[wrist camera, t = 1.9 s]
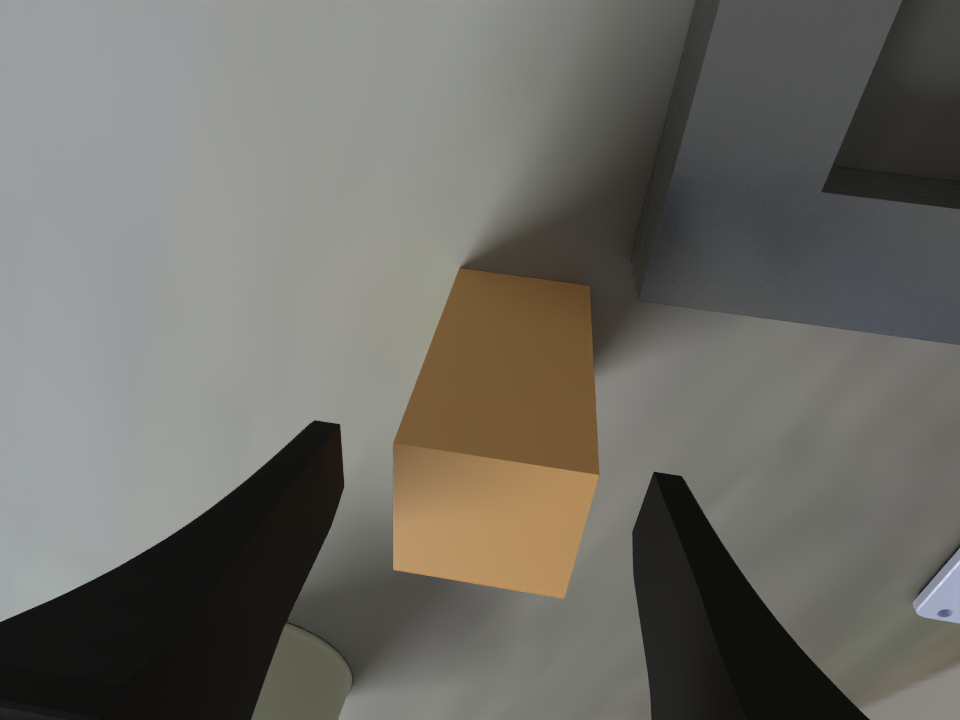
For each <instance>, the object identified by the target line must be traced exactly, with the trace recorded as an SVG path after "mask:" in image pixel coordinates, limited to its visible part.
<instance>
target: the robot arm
mask: <svg viewBox="0 0 960 720" xmlns="http://www.w3.org/2000/svg"><path fill="white" fill-rule="evenodd" d="M343 489H344V474H343V460H342V445H341V431H340V424H335V423H328V422H322V421H315V420H314V421H313V422H312V423H310V424H309V425H308V426H307V427H306V428H305V429H304V430H303V431H301V432H300V433H299V434H298V435H297V436H296V437H295V438H294V439H293V440H292V441H291V442H289V443H288V444H287V445H286V446H285V447H284V448H283V449H282V450H281V451H280V452H278V453H277V454H276V455H275V456H274V457H273V458H272V459H271V460H269V461H268V462H267V463H266V464H265V465H264V466H262V467H261V468H260V469H259V470H258V471H257V472H255V473H254V474H253V475H252V476H251V477H250V478H248V479H247V480H246V481H245V482H244V483H242V484H241V485H240V486H239V487H237V488H236V489H235V490H233V491H232V492H231V493H230V494H228V495H227V496H226V497H224V498H223V499H222V500H221V501H219V502H218V503H217V504H215V505H214V506H213V507H211V508H210V509H209V510H207V511H206V512H205V513H203V514H202V515H200V516H199V517H198V518H196V519H195V520H193V521H192V522H190V523H189V524H188V525H186V526H185V527H183V528H182V529H180V530H179V531H177V532H176V533H174V534H173V535H171V536H169V537H168V538H166V539H165V540H163V541H161V542H160V543H158V544H156V545H155V546H153V547H152V548H150V549H148V550H146V551H145V552H143V553H141V554H140V555H138V556H136V557H134V558H133V559H131V560H129V561H128V562H126V563H124V564H122V565H121V566H119V567H117V568H115V569H113V570H111V571H109V572H107V573H106V574H104V575H102V576H100V577H98V578H96V579H94V580H92V581H90V582H88V583H86V584H84V585H82V586H80V587H78V588H76V589H74V590H72V591H70V592H68V593H66V594H63V595H61V596H59V597H57V598H55V599H53V600H50V601H48V602H46V603H44V604H41V605H39V606H37V607H34V608H32V609H30V610H27V611H25V612H23V613H20V614H18V615H16V616H13V617H11V618H9V619H6V620H4V621H2V622H0V720H251V719H252V716H253V713H254V710H255V707H256V704H257V701H258V698H259V695H260V692H261V689H262V687H263V684H264V681H265V678H266V675H267V672H268V669H269V667H270V664H271V661H272V658H273V656H274V653H275V650H276V647H277V645H278V642H279V639H280V636H281V634H282V631H283V629H284V626H285V624H286V622H287V619H288V617H289V615H290V612H291V610H292V608H293V606H294V604H295V602H296V600H297V598H298V595H299V593H300V591H301V589H302V587H303V585H304V583H305V581H306V579H307V577H308V574H309V572H310V570H311V568H312V566H313V564H314V562H315V560H316V558H317V556H318V553H319V551H320V549H321V547H322V545H323V543H324V541H325V538H326V536H327V534H328V532H329V530H330V528H331V525H332V522H333V519H334V516H335V514H336V511H337V508H338V505H339V501H340V498H341V495H342V492H343ZM632 536H633V575H634V582H635V590H636V597H637V603H638V610H639V617H640V624H641V630H642V637H643V644H644V650H645V657H646V664H647V670H648V678H649V688H650V698H651V717H652V720H869V719H868V718H867V717H866V716H865V715H864V714H863V713H862V712H861V711H860V710H859V709H858V708H857V707H856V706H855V705H854V704H853V703H852V702H851V701H850V700H849V699H848V698H847V697H846V696H845V695H844V694H843V693H842V692H841V691H840V690H839V689H838V688H837V687H836V686H835V685H834V683H833V682H832V681H831V680H830V679H829V678H828V677H827V676H826V675H825V674H824V673H823V672H822V671H821V670H820V669H819V668H818V667H817V666H816V665H815V664H814V663H813V661H812V660H811V659H810V658H809V657H808V656H807V655H806V654H805V653H804V651H803V650H802V649H801V648H800V647H799V646H798V645H797V643H796V642H795V641H794V640H793V639H792V637H791V636H790V635H789V634H788V633H787V632H786V630H785V629H784V628H783V627H782V626H781V624H780V623H779V622H778V621H777V619H776V618H775V617H774V616H773V614H772V613H771V612H770V610H769V609H768V608H767V607H766V605H765V604H764V603H763V601H762V600H761V599H760V597H759V596H758V594H757V593H756V592H755V590H754V589H753V588H752V586H751V585H750V584H749V582H748V581H747V579H746V578H745V576H744V575H743V574H742V572H741V571H740V569H739V568H738V566H737V565H736V563H735V562H734V560H733V559H732V557H731V556H730V554H729V553H728V551H727V550H726V548H725V547H724V545H723V544H722V542H721V541H720V539H719V537H718V536H717V534H716V533H715V531H714V529H713V528H712V526H711V524H710V523H709V521H708V519H707V518H706V516H705V515H704V513H703V511H702V509H701V508H700V506H699V504H698V503H697V501H696V499H695V498H694V496H693V494H692V492H691V491H690V489H689V487H688V485H687V484H686V482H685V480H684V479H683V478H682V476H678V475H671V474H664V473H658V472H654V473H653V476H652V478H651V481H650V484H649V487H648V490H647V492H646V495H645V498H644V501H643V504H642V506H641V509H640V512H639V515H638V518H637V520H636V523H635V526H634V529H633V532H632ZM913 607H914V609H915V611H916V612H917V614H918V615H920V616H922V617H925V618H931V619H937V620H943V621H949V622H955V623H960V548H959V549H958V551H957V552H956V553H955V554H954V555H953V556H952V558H951V559H950V560H949V561H948V562H947V563H946V565H945V566H944V567H943V568H942V569H941V570H940V571H939V573H938V574H937V575H936V576H935V577H934V578H933V580H932V581H931V582H930V583H929V584H928V585H927V586H926V588H925V589H924V590H923V591H922V592H921V593H920V595H919V596H918V597H917V598H916V599H915V600H914V602H913Z"/></svg>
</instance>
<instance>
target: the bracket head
mask: <svg viewBox="0 0 960 720" xmlns="http://www.w3.org/2000/svg"><path fill="white" fill-rule="evenodd" d="M901 2H902V0H696V3H695V7H694V11H693V15H692V19H691V23H690V27H689V31H688V35H687V38H686V42H685V46H684V50H683V54H682V58H681V62H680V66H679V70H678V74H677V78H676V82H675V86H674V90H673V94H672V98H671V102H670V106H669V110H668V114H667V118H666V122H665V126H664V130H663V134H662V138H661V142H660V146H659V150H658V154H657V158H656V162H655V166H654V170H653V174H652V178H651V181H650V185H649V189H648V193H647V197H646V201H645V205H644V209H643V213H642V217H641V221H640V225H639V229H638V233H637V237H636V241H635V245H634V249H633V253H632V257H631V265H632V270H633V275H634V281H635V286H636V291H637V296H638V301H643V302H650V303H657V304H665V305H672V306H679V307H686V308H694V309H701V310H708V311H716V312H723V313H730V314H737V315H745V316H752V317H759V318H767V319H774V320H781V321H788V322H796V323H803V324H810V325H818V326H825V327H832V328H839V329H847V330H854V331H861V332H869V333H876V334H883V335H890V336H898V337H905V338H912V339H920V340H927V341H934V342H941V343H949V344H956V345H960V182H955V181H947V180H939V179H930V178H922V177H914V176H905V175H897V174H889V173H881V172H872V171H864V170H856V169H847V168H839V167H832V165H833V163H834V161H835V158H836V156H837V154H838V151H839V149H840V146H841V144H842V142H843V139H844V137H845V135H846V132H847V130H848V128H849V125H850V123H851V121H852V118H853V116H854V113H855V111H856V109H857V106H858V104H859V102H860V99H861V97H862V95H863V92H864V90H865V87H866V85H867V83H868V80H869V78H870V76H871V73H872V71H873V69H874V66H875V64H876V61H877V59H878V57H879V54H880V52H881V50H882V47H883V45H884V43H885V40H886V38H887V35H888V33H889V31H890V28H891V26H892V24H893V21H894V19H895V17H896V14H897V12H898V9H899V7H900V5H901Z"/></svg>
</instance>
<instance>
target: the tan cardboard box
mask: <svg viewBox="0 0 960 720" xmlns="http://www.w3.org/2000/svg"><path fill="white" fill-rule="evenodd" d="M598 478H599V458H598V438H597V419H596V399H595V379H594V360H593V340H592V321H591V301H590V286H588V285H581V284H573V283H566V282H559V281H551V280H544V279H537V278H529V277H522V276H515V275H507V274H500V273H493V272H485V271H478V270H471V269H463V268H459V271H458V273H457V276H456V279H455V281H454V284H453V286H452V289H451V292H450V294H449V297H448V300H447V302H446V305H445V308H444V310H443V313H442V316H441V318H440V321H439V323H438V326H437V329H436V331H435V334H434V337H433V339H432V342H431V345H430V347H429V350H428V353H427V355H426V358H425V360H424V363H423V366H422V368H421V371H420V374H419V376H418V379H417V382H416V384H415V387H414V390H413V392H412V395H411V397H410V400H409V403H408V405H407V408H406V411H405V413H404V416H403V419H402V421H401V424H400V427H399V429H398V432H397V434H396V437H395V440H394V442H393V570H397V571H403V572H409V573H415V574H421V575H427V576H433V577H439V578H444V579H450V580H456V581H462V582H468V583H474V584H480V585H486V586H492V587H497V588H503V589H509V590H515V591H521V592H527V593H533V594H539V595H545V596H551V597H556V598H562V599H564V598H565V595H566V591H567V588H568V584H569V581H570V577H571V574H572V570H573V567H574V563H575V559H576V556H577V552H578V549H579V545H580V542H581V538H582V535H583V531H584V528H585V524H586V521H587V517H588V514H589V510H590V506H591V503H592V499H593V496H594V492H595V489H596V485H597V482H598Z"/></svg>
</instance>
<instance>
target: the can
mask: <svg viewBox="0 0 960 720" xmlns="http://www.w3.org/2000/svg"><path fill="white" fill-rule="evenodd" d="M351 686H352V674H351V671H350V668H349V666H348V665H347V663H346V661H345V660H344V659H343V657H342V656H341V655H340V654H339V653H338V652H337V651H336V650H335V649H334V648H332V647H331V646H330V645H329V644H327V643H326V642H325V641H323V640H322V639H320V638H319V637H317V636H315V635H313V634H311V633H310V632H308V631H305V630H303V629H301V628H299V627H296V626H294V625H291V624H288V623H286V624H285V626H284V629H283V631H282V634H281V636H280V639H279V642H278V645H277V647H276V650H275V653H274V656H273V658H272V661H271V664H270V667H269V669H268V672H267V675H266V678H265V681H264V684H263V687H262V689H261V692H260V695H259V698H258V701H257V704H256V707H255V710H254V713H253V716H252V719H251V720H338V718H339V715H340V713H341V710H342V707H343V704H344V701H345V699H346V697H347V695H348V694H349V692H350V690H351Z"/></svg>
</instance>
